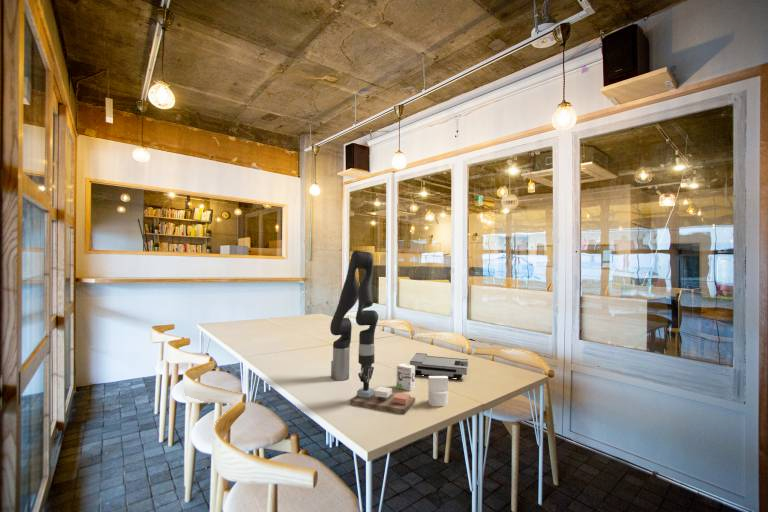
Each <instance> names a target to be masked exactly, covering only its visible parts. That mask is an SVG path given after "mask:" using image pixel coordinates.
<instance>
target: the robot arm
mask: <svg viewBox="0 0 768 512" xmlns="http://www.w3.org/2000/svg"><path fill="white" fill-rule="evenodd" d="M373 255H374V254H373V253H372V252H370V251H365V250H358V249H357V250H356V249H355V250H353V252H352V254H351V256H350V259H349V264H348V269H347V272H346V273H347V274H346V277H345V280H344V283H343V285H342V286H343V287H342V289H341V293H340V296H339V301H338V304H337V307H336V309H335V312H334V314H333V316H332V319H331V322H330V325H329V326H330V327H329V328H330V329H329V331H330V333H331V334H332V335H333V336H340V337H339V338H338V339H336V340H334V341H333V344H332V360H331V361H330V365H331V366H330V378H331V380H332V379H333V380H335V381H346V380H349V379H350V353H351V352H350V351H351V349H350V347H351V342H352V329H353V328H352V327H353V324H352V321H351V319H350V318H349V317H345V316H346V314H348V312H349V311H350V310H352V308H353V307H354V306H355V305H356V303H357V301H358V307H357V311H356V315H355V322H356V324H357V325H358V326H361V327H362V326H369V327H368V328H366V329H362V330H360V332H359V335H358V336H359V339H358V340H359V341H358V360H357V361H358V364H359V365H360V372H358V374H357V375H358V378H359V380H360V382H361V383H362V384H363V386H362V387H363V390H366V391H367V390H369V388H370V380H371V379H372V376H373V374H374V369H375V367H374V366H373V365H374V364H375V333H376V328H377V324H378V320H379V314H378V312H377V311H376V310H373V309H372V310H369V309H368V310H367V309H366V308H370V307H372V306H373V304H374V297H373V295H374V294H373V279H374V277H373V276H374V256H373ZM357 269H360V270H365V276H364V277H363V279H362V281H361V283H360V284H359V283H358V281H357V277H356V272H357ZM364 309H366V310H364Z"/></svg>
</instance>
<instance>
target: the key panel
mask: <svg viewBox="0 0 768 512" xmlns="http://www.w3.org/2000/svg"><path fill="white" fill-rule="evenodd" d="M396 394H397V393H396ZM396 394H395V393H392V394H391V395H390V396H389V397H388V398H384V397H378V396H375V390H374V394H373V395H372V396H371V397H370V398H364V397H359V396H357V394H356V395H354V397H352V398H351V399H350V405H352V406H358V407H363V408H369V409H374V410H379V411H385V412H389V413H390V412H391V413H396V414H400V415H401V414H402V415H405V414H406V413H407V412H408V411H409V410H410V409H411V407H412V406H413V405H414V404H415V403H416V397H412V396H410V401H409V402H408V403H407V404H406V405H405V404H399V403H393V397H394V396H395V395H396Z"/></svg>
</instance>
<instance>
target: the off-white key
mask: <svg viewBox="0 0 768 512" xmlns="http://www.w3.org/2000/svg"><path fill="white" fill-rule="evenodd" d="M374 391H375V396H378V397H384V398H388V397H389V396H390V395H391V394H393V388H392V387H391V388H390V387H384V386H379V387H377V388H376V389H374Z"/></svg>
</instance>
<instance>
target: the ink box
mask: <svg viewBox="0 0 768 512" xmlns="http://www.w3.org/2000/svg"><path fill="white" fill-rule="evenodd" d="M415 386H416V376H415V366H413V365H410V364H409V363H408V364H407V363H402V362H401V363H400V364H398V365H397V364H396V389H399V388H400V389H401V390H403V389H405V390H404V391H408V390H409V391H408V392H412V391H413V390H415V389H414V388H415ZM411 390H412V391H411Z"/></svg>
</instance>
